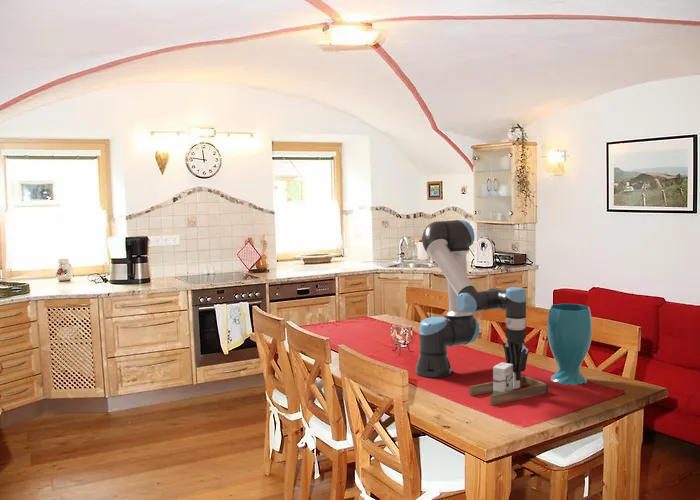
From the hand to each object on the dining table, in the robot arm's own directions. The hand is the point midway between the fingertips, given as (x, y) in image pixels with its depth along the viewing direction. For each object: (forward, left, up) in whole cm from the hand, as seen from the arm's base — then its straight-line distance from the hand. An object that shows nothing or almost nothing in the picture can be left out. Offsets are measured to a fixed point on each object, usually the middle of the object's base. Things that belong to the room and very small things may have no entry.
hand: (515, 387), depth 256 cm
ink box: (0, -6, -2) cm, 7 cm away
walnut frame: (0, -3, -2) cm, 4 cm away
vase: (-2, +30, -2) cm, 30 cm away
